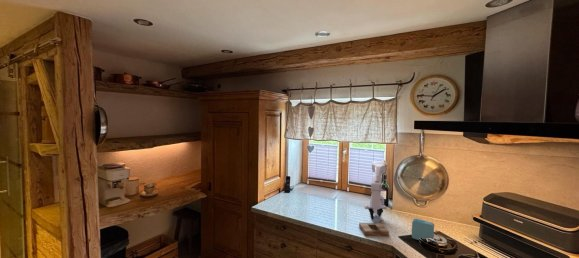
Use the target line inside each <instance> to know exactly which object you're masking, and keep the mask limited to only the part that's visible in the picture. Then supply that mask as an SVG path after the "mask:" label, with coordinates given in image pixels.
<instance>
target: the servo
mask: <svg viewBox="0 0 579 258" xmlns="http://www.w3.org/2000/svg"><path fill="white" fill-rule="evenodd" d="M370 219H371V218H370ZM370 221H371V223H374V224H379V223H380V221H381V220H380V216H379V215H378V214H377V213H374V214H373V220H372V219H371V220H370Z"/></svg>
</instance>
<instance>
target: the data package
mask: <svg viewBox="0 0 579 258" xmlns="http://www.w3.org/2000/svg"><path fill="white" fill-rule="evenodd" d="M434 235H435V224H434V223H433V222H431V221H428V220H423V219H419V218H413V219H412V222H411V237H412V239H414V240H418V241H420V240H419V238H422V239H426V238H432V239H433V237H434ZM433 240H434V239H433Z"/></svg>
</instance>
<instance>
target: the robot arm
mask: <svg viewBox="0 0 579 258" xmlns="http://www.w3.org/2000/svg"><path fill="white" fill-rule="evenodd" d="M371 170H372V173H374V175H373V176H372V182H371V184H370V189H371V196H370V203H369V204H366V205H364V209H365V210H368V211H369V215H368V216H369V217H370V219H372V220H373V214H374V213H377V214H378V215H379V216H380V220H381V221H384V219H383V216H382V215H383V212H384V210H387V206H386V205H385V197H384V196H383V195H382V192H381V191H382V187H383V186H382V184H383V183H382V175H383V174H384V173H386V162H383V161H382V162H381V161H372V162H371Z"/></svg>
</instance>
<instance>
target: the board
mask: <svg viewBox="0 0 579 258" xmlns="http://www.w3.org/2000/svg"><path fill="white" fill-rule="evenodd" d="M358 227H359V229H360V231H361V232H362V234H363V235H364V236H365V237H366V236H367V237H390V231H389V229H387V227H386V226H384V224H383V223H382V222H379V224H374V223H373V222H359V225H358Z"/></svg>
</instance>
